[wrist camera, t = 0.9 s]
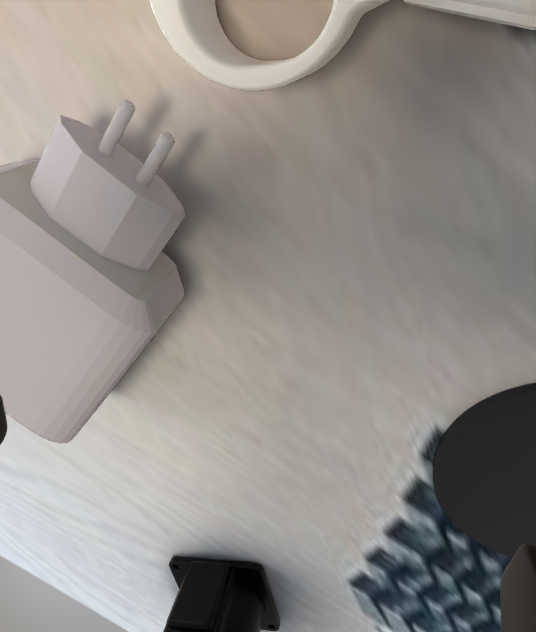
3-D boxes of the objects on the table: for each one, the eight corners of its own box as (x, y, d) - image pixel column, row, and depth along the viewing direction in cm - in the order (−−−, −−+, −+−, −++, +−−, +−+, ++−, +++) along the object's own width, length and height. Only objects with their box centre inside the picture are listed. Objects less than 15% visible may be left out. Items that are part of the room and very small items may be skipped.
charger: (269, 186, 20) (110, 392, 28) (78, 27, 19) (-33, 288, 27) (235, 225, 16) (61, 453, 24) (-9, 27, 15) (-110, 334, 23)
